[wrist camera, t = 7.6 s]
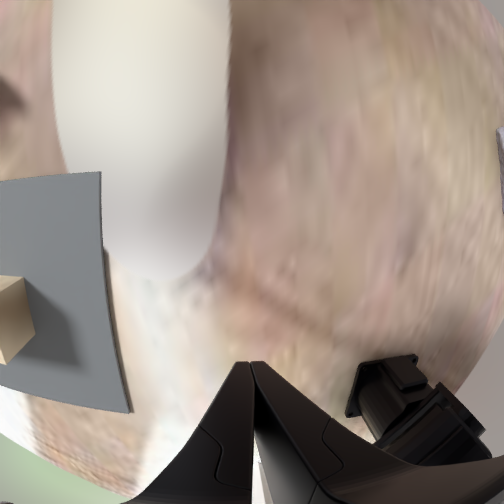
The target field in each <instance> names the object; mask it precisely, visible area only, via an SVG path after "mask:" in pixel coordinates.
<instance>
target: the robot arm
mask: <svg viewBox="0 0 504 504" xmlns="http://www.w3.org/2000/svg"><path fill="white" fill-rule="evenodd" d="M417 362H418V356H417V355H415V354H411V355H406V356H399V357H393V358H387V359H382V360H376V361H369V362H363V363H361V364H360V365H359V366H358V368H357V372H356V376H355V379H354V383H353V387H352V390H351V394H350V397H349V400H348V404H347V407H346V410H345V415H346V417H347V418H352V417H357V416H362V418H363V419H364V421H365V423H366V425H367V426H368V428H369V430H370V432H371V433H372V435H373V437H374V438H375V440H376V442H375V443H373V444H371V443H369V442H367V441H366V440H364V439H362V438H361V437H359V436H357V435H356V434H354V433H353V432H351V431H350V430H348V429H347V428H346V427H344V426H343V425H341V424H340V423H339V422H337V421H336V420H335V419H334V418H331V416H330V415H328V414H327V413H326V412H324V411H323V410H322V409H321V408H319V407H318V406H317V405H316V404H314V403H313V402H312V401H311V400H309V399H308V398H307V397H306V396H304V395H303V394H302V393H301V392H300V391H298V390H297V389H296V388H295V387H294V386H292V385H291V384H290V383H289V382H288V381H286V380H285V379H284V378H283V377H282V376H280V375H279V374H278V373H277V372H276V371H275V370H273V369H272V368H271V367H270V366H269V365H268V364H266V363H265V362H264V361H251V362H250V363H249V362H247V361H244V362H235V364H234V365H233V367H232V369H231V371H230V372H229V374H228V376H227V377H226V379H225V381H224V383H223V384H222V386H221V388H220V389H219V391H218V393H217V394H216V396H215V398H214V399H213V401H212V403H211V405H210V406H209V408H208V410H207V411H206V413H205V414H204V416H203V418H202V419H201V421H200V423H199V424H198V427H196V429H195V431H194V432H193V434H192V435H191V437H190V438H189V440H188V441H187V443H186V444H185V446H184V447H183V448H182V450H181V451H180V452H179V453H178V454H177V456H176V457H175V458H174V459H173V460H172V461H171V462H170V463H169V465H168V466H167V467H166V468H165V469H164V470H163V471H162V472H161V473H160V474H159V475H158V476H157V477H156V478H155V480H154V481H153V482H152V483H151V484H150V485H149V486H148V487H147V488H146V489H145V490H144V491H143V492H142V493H140V494H139V495H138V496H136V497H135V498H133V499H131V500H129V501H127V502H124V503H121V504H252V484H253V453H254V436H255V440H256V444H257V447H258V451H259V455H260V459H261V462H262V466H263V470H264V473H265V477H266V480H267V484H268V487H269V491H270V494H271V498H272V501H273V504H504V455H502V456H499V457H495V458H492V454H491V452H490V451H489V449H488V448H487V447H486V446H485V444H484V443H483V442H482V441H481V440H480V439H479V437H480V436H481V435H482V434H483V433H484V432H485V428H484V427H483V426H482V425H481V423H480V422H479V421H478V420H477V419H476V418H475V417H474V416H473V415H472V414H471V412H470V411H469V410H468V409H467V408H466V407H465V406H464V405H463V404H462V403H461V402H460V401H459V400H458V399H457V398H456V397H455V396H454V395H453V394H452V393H451V392H450V391H449V390H448V389H447V388H446V387H445V386H444V385H443V384H442V383H441V382H439V383H438V384H437V385H436V386H435V388H434V389H432V387H431V386H430V385H429V384H428V379H427V377H426V376H425V375H424V374H423V373H422V372H421V371H420V370H419V369H418V368H417V367H416V365H417ZM364 367H365V368H364ZM363 368H364V369H363ZM0 504H13V503H10V502H0Z"/></svg>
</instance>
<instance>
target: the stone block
mask: <svg viewBox="0 0 504 504" xmlns="http://www.w3.org/2000/svg"><path fill="white" fill-rule="evenodd" d="M496 136H497V144H498V151H499V161H500V171H501V177H500V179H501V190H502V210H503V214H504V127H500V128H498V129H497V130H496Z"/></svg>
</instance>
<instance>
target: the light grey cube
mask: <svg viewBox="0 0 504 504" xmlns="http://www.w3.org/2000/svg"><path fill="white" fill-rule="evenodd" d="M252 504H273V501H272V498H271V494H270V491H269V487H268V484H267V480H266V477H265V473H264V470H263V466H262V464H261V463H259V462H257V463H256V464H254V465H253V484H252Z"/></svg>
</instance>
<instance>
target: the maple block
mask: <svg viewBox="0 0 504 504" xmlns="http://www.w3.org/2000/svg"><path fill="white" fill-rule="evenodd" d="M35 334H36V333H35V329H34V326H33V321H32V317H31V313H30V309H29V304H28V299H27V294H26V289H25V283H24V277H16V276H4V275H0V363H1V364H5V365H7V364H8V363H9V362H10V361H11V359H12V358H13V357H14V356H15V355H16V354H17V353H18V352H19V351H20V350H21V349H22V348H23V347H24V346H25V345H26V343H27V342H28V341H29V340H30V339H31V338H32V337H33V336H34V335H35Z"/></svg>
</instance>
